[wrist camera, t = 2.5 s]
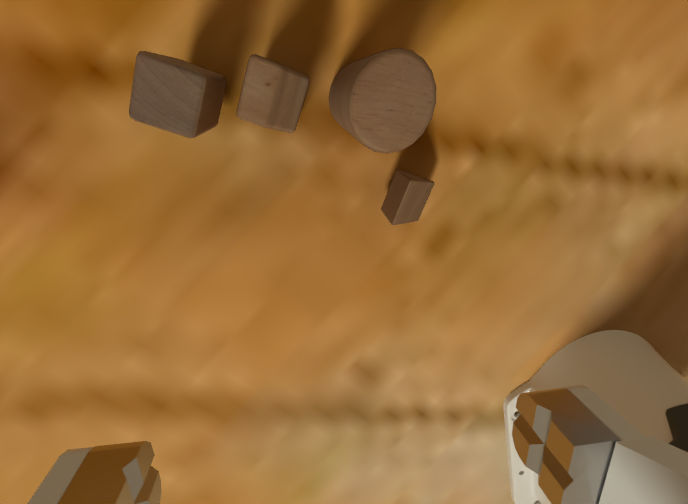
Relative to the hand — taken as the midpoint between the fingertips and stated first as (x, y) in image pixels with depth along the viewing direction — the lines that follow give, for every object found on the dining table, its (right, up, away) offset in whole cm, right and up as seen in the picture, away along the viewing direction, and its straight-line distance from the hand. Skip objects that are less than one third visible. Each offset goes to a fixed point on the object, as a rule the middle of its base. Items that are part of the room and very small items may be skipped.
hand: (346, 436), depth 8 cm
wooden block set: (-2, +13, +18) cm, 22 cm away
